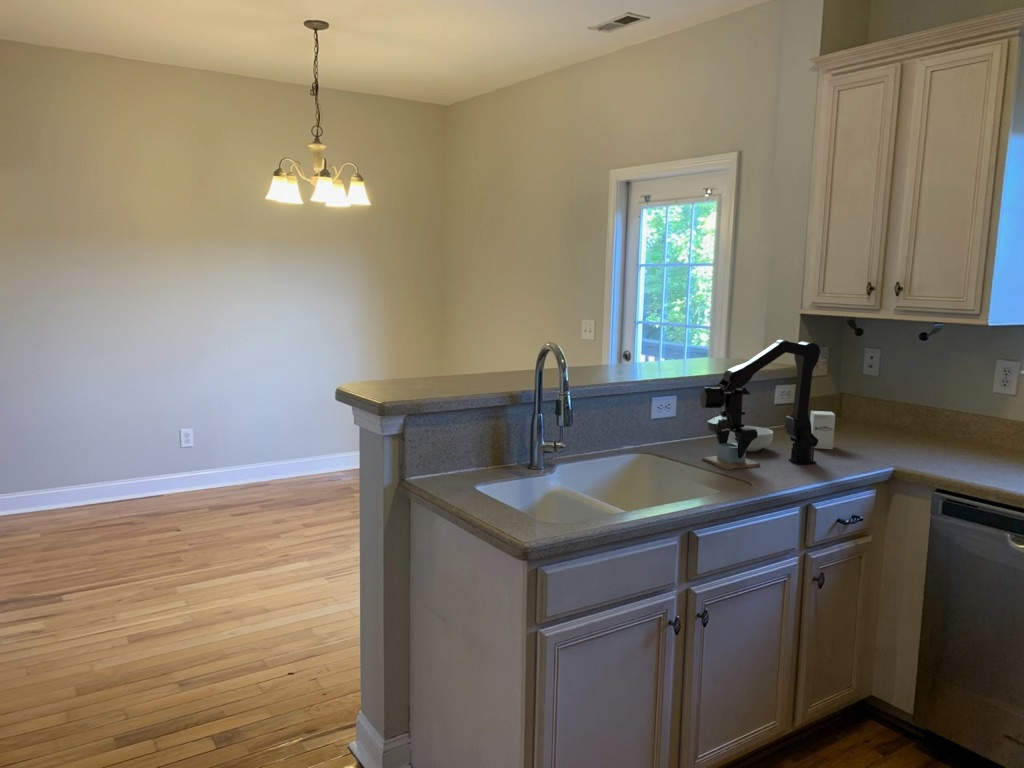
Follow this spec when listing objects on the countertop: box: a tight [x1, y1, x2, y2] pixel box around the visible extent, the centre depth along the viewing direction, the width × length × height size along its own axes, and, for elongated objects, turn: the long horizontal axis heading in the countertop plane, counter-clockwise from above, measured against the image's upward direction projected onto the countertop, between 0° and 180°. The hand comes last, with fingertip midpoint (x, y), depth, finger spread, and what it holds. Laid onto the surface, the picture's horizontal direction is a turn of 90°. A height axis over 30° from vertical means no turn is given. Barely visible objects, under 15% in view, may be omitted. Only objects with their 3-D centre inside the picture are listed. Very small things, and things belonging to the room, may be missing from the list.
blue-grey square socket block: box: [716, 442, 747, 463], centre depth 247 cm, size 6×6×5 cm
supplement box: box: [809, 410, 836, 450], centre depth 271 cm, size 7×7×13 cm
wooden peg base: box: [701, 446, 761, 470], centre depth 247 cm, size 13×13×6 cm
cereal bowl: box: [727, 425, 774, 452], centre depth 268 cm, size 17×17×7 cm
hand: (731, 454), depth 247 cm, fingers open, 9 cm apart
